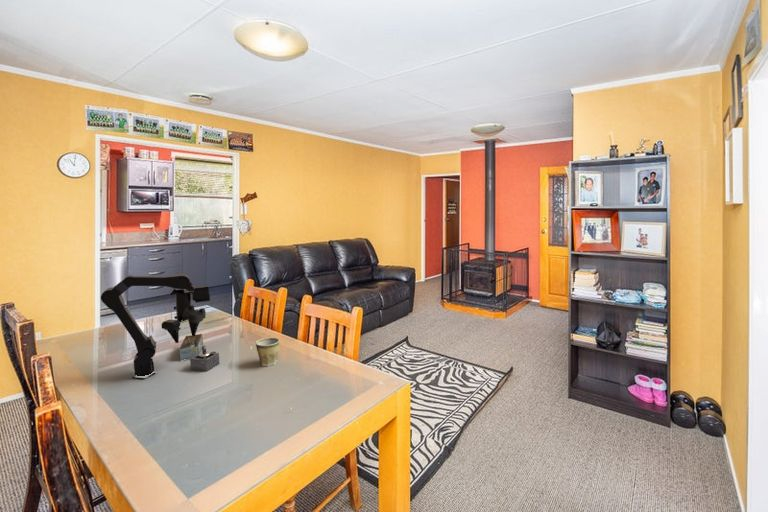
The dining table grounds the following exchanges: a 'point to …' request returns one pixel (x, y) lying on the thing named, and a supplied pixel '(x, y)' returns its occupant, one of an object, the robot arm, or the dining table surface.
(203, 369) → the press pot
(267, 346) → the ceramic cup
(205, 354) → the plunger
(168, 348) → the dining table surface
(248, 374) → the dining table surface
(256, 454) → the dining table surface
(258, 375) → the dining table surface
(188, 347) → the beverage carton
